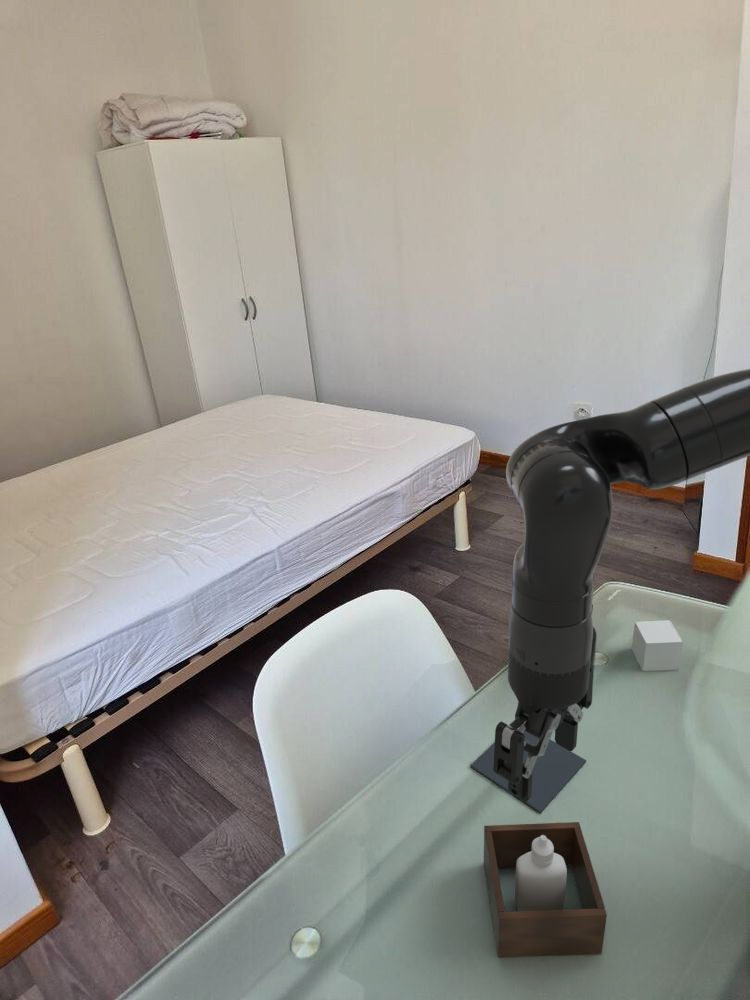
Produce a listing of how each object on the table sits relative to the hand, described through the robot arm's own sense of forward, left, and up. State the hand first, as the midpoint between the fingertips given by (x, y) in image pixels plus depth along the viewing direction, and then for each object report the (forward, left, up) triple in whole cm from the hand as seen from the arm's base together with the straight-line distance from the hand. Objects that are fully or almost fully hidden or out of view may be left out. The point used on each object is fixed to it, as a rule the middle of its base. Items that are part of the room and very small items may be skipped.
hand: (543, 769), depth 71 cm
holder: (0, -1, -24) cm, 24 cm away
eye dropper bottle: (0, -1, -24) cm, 24 cm away
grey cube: (+10, -52, -24) cm, 58 cm away
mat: (+13, -18, -24) cm, 32 cm away
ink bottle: (+21, -42, -24) cm, 53 cm away
